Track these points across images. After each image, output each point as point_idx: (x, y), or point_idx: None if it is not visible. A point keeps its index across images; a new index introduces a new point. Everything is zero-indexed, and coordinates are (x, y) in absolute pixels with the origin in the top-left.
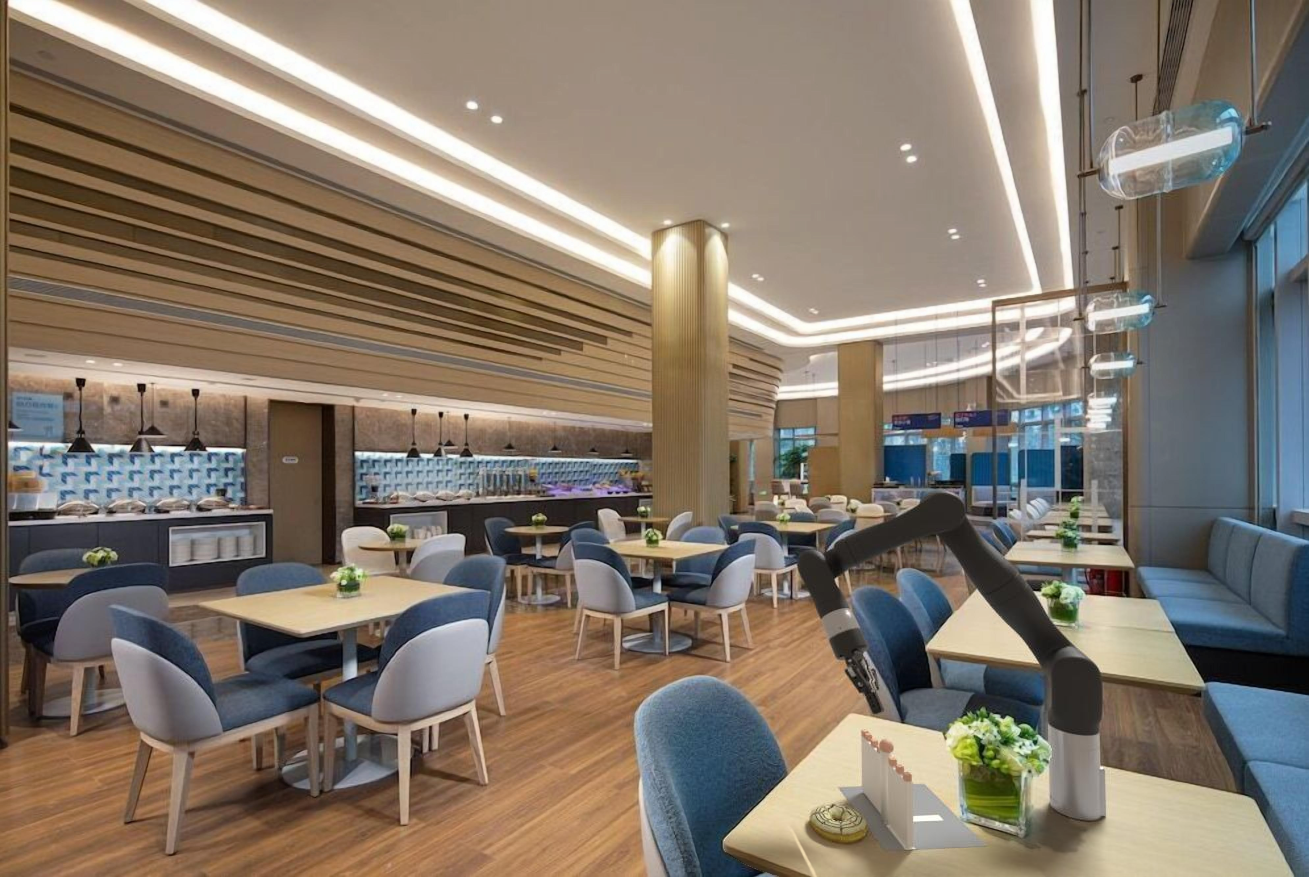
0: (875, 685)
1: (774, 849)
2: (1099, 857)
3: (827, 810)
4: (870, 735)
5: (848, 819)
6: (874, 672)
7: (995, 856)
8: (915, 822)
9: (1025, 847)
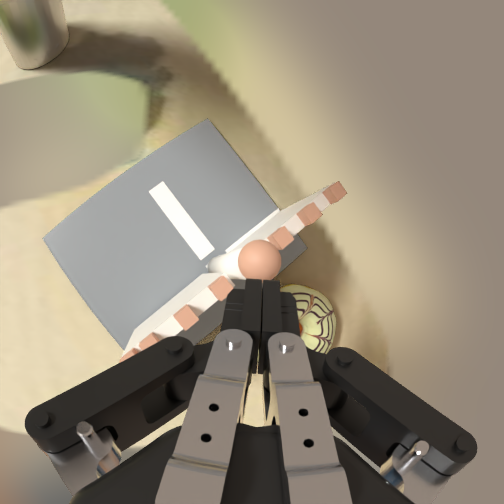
0: (185, 363)
1: None
2: (155, 22)
3: None
4: (156, 339)
5: (306, 311)
6: (68, 417)
7: (220, 111)
8: (196, 222)
9: (173, 80)
